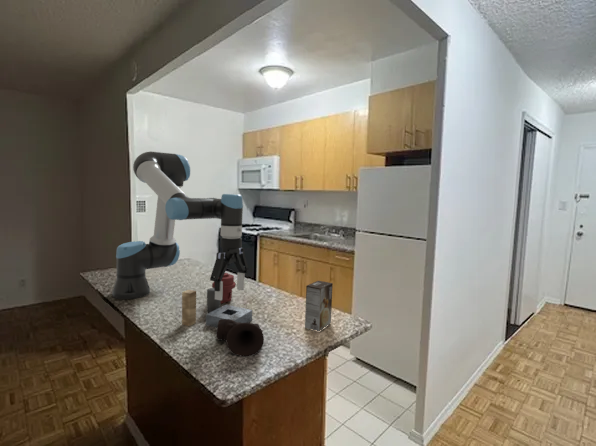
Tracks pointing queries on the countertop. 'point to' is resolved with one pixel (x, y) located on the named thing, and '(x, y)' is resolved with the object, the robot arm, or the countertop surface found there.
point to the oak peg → (188, 307)
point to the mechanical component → (227, 287)
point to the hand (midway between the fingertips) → (230, 294)
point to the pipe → (240, 337)
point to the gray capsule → (212, 301)
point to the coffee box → (318, 305)
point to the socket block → (228, 315)
